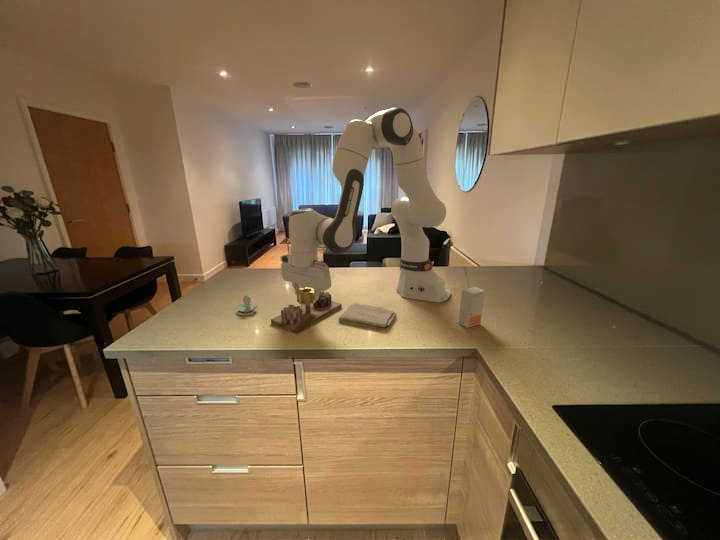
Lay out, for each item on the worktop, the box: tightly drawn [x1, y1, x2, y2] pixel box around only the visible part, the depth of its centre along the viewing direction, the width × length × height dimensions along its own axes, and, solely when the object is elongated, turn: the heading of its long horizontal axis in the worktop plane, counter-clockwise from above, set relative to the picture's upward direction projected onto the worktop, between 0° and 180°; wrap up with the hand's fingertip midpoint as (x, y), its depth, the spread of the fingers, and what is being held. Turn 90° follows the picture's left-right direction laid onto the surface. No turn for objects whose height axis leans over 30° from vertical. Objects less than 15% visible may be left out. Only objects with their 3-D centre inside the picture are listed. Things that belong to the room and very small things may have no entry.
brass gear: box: [296, 286, 317, 305], centre depth 100 cm, size 7×7×4 cm
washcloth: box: [337, 303, 397, 331], centre depth 99 cm, size 12×18×3 cm, turn 69°
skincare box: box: [457, 286, 486, 329], centre depth 94 cm, size 6×4×12 cm
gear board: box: [270, 291, 343, 335], centre depth 102 cm, size 12×23×6 cm, turn 146°
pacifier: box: [236, 294, 258, 316], centre depth 104 cm, size 7×6×6 cm
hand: (306, 296), depth 100 cm, fingers closed on brass gear, 7 cm apart
